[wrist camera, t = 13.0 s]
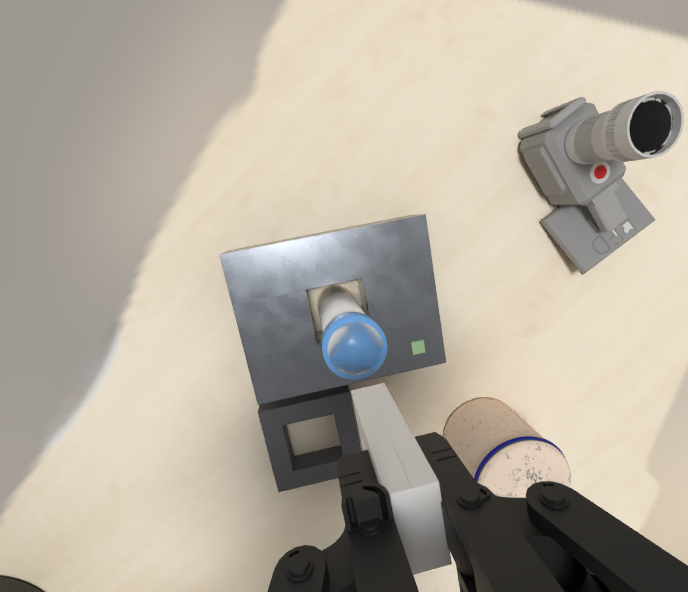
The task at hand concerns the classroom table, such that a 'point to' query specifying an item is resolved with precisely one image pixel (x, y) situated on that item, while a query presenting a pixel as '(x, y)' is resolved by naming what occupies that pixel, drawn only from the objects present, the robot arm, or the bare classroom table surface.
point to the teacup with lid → (503, 449)
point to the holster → (313, 464)
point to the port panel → (325, 269)
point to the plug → (349, 335)
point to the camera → (597, 169)
